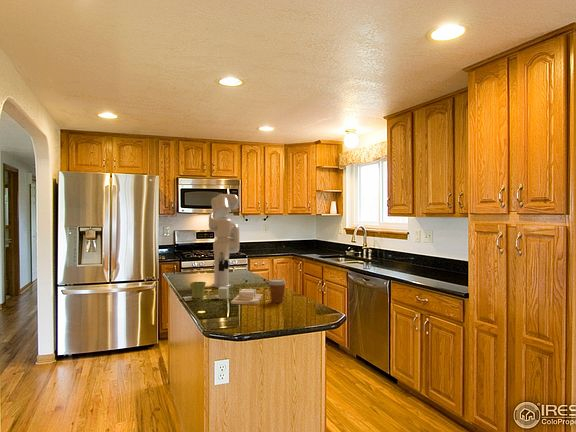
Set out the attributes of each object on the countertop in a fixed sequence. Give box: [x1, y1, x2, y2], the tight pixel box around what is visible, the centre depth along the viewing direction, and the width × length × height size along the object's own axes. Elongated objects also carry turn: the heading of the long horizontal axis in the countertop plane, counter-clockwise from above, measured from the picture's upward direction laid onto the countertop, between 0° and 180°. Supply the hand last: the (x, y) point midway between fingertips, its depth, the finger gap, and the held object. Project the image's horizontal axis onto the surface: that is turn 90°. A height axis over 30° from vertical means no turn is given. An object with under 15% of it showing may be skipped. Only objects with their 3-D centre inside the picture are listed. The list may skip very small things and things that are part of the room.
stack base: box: [230, 288, 264, 306], centre depth 230 cm, size 20×14×6 cm
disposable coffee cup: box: [268, 278, 287, 304], centre depth 227 cm, size 10×10×12 cm
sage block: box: [217, 287, 230, 300], centre depth 235 cm, size 5×5×6 cm
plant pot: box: [189, 281, 207, 299], centre depth 236 cm, size 9×9×9 cm
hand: (223, 269), depth 235 cm, fingers open, 9 cm apart
